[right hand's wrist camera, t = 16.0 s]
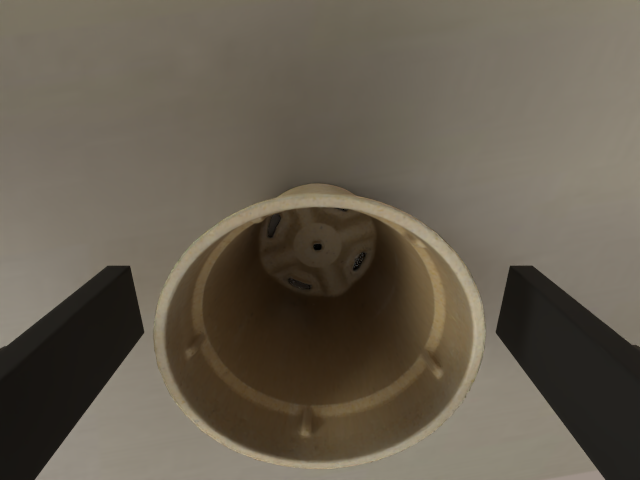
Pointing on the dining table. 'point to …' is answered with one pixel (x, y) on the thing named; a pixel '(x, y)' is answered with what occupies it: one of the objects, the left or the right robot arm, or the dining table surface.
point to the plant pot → (319, 330)
